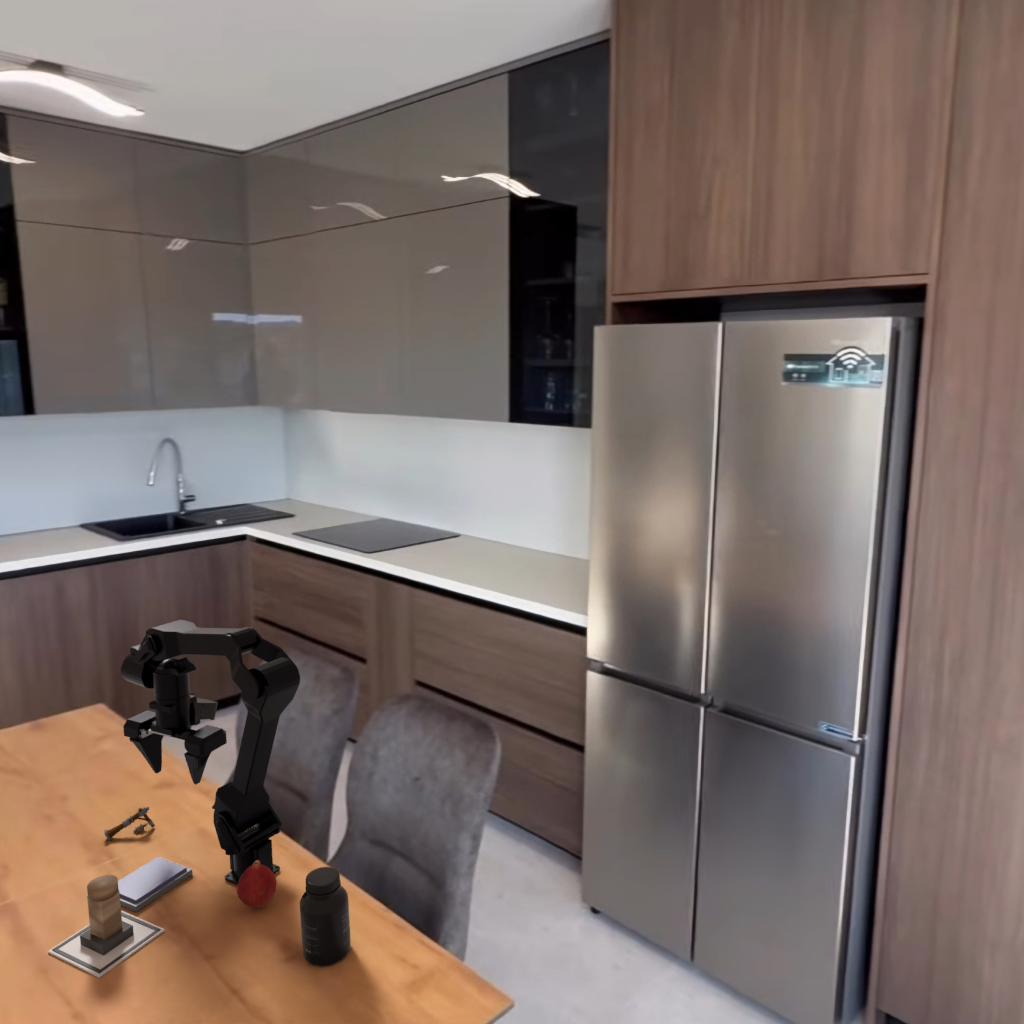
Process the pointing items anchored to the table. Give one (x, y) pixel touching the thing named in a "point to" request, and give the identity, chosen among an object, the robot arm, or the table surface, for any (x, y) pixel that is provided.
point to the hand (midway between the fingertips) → (177, 777)
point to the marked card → (102, 964)
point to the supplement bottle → (324, 918)
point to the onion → (256, 885)
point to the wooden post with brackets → (128, 821)
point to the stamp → (105, 916)
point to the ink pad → (150, 882)
